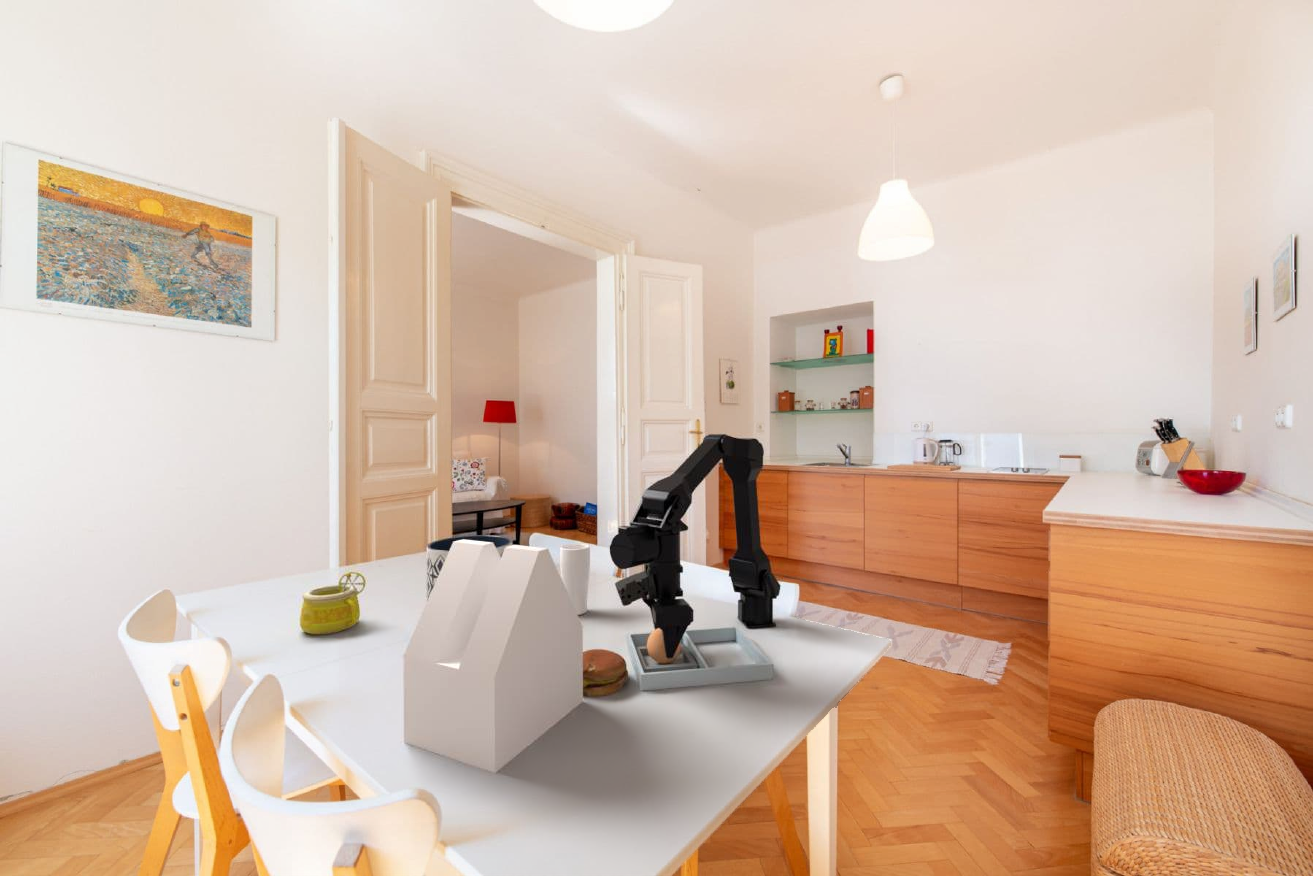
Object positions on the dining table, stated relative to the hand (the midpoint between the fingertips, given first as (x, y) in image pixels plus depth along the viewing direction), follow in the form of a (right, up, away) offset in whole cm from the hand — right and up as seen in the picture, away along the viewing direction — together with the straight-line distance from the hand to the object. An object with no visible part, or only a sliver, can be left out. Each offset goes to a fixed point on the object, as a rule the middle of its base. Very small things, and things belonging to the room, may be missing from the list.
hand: (664, 647), depth 95 cm
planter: (-43, -3, +26) cm, 50 cm away
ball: (0, -3, 0) cm, 3 cm away
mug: (-69, -3, +18) cm, 71 cm away
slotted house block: (-24, -4, -19) cm, 30 cm away
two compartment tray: (+5, -3, +1) cm, 6 cm away
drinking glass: (-20, -3, +28) cm, 34 cm away
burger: (-11, -4, -7) cm, 14 cm away
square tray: (0, -3, 0) cm, 3 cm away
